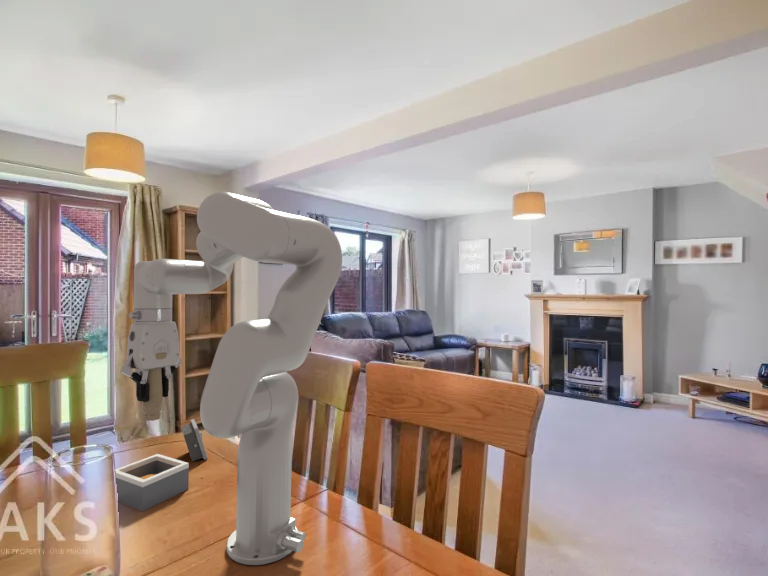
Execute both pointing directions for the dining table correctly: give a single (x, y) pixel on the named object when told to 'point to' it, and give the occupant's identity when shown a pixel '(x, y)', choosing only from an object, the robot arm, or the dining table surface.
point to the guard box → (151, 481)
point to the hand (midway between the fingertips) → (152, 397)
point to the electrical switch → (194, 441)
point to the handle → (154, 392)
